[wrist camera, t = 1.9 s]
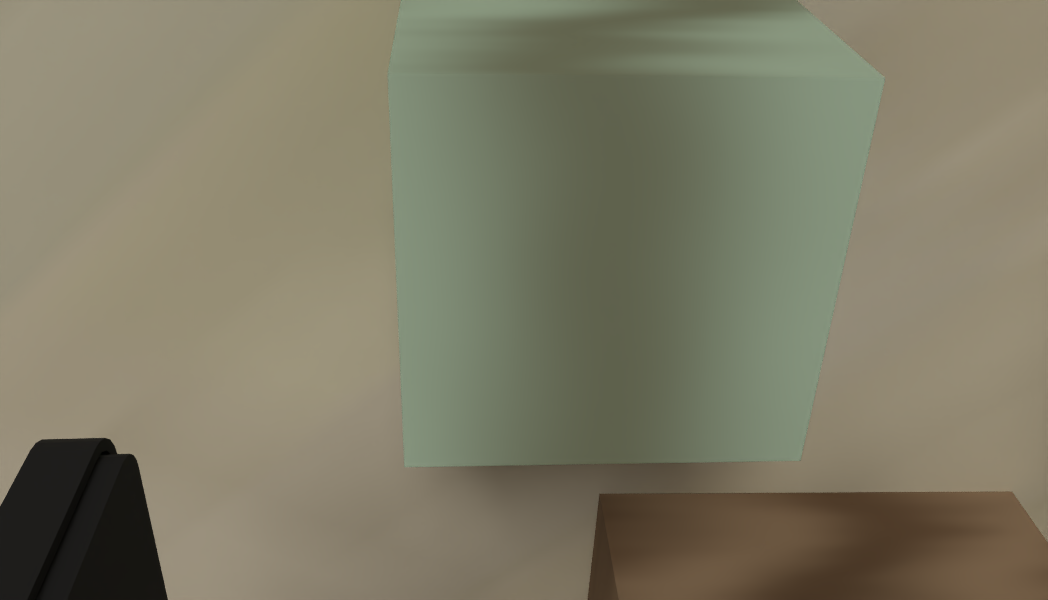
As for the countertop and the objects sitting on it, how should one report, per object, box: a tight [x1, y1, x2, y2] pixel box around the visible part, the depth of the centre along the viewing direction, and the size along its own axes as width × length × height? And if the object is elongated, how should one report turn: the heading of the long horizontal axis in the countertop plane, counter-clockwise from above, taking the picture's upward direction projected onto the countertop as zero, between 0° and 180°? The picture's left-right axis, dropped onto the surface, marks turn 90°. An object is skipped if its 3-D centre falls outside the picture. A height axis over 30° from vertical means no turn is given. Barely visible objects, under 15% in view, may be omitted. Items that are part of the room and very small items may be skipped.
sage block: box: [388, 0, 885, 467], centre depth 16 cm, size 6×6×6 cm
